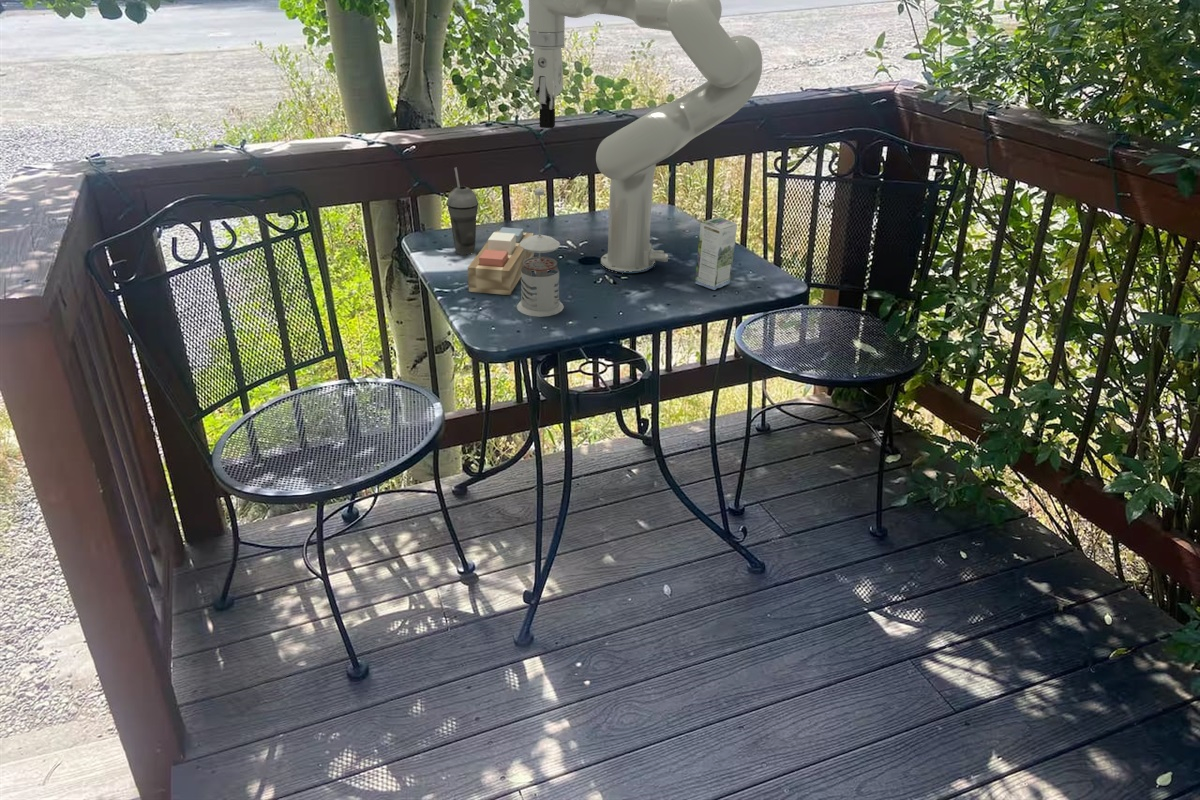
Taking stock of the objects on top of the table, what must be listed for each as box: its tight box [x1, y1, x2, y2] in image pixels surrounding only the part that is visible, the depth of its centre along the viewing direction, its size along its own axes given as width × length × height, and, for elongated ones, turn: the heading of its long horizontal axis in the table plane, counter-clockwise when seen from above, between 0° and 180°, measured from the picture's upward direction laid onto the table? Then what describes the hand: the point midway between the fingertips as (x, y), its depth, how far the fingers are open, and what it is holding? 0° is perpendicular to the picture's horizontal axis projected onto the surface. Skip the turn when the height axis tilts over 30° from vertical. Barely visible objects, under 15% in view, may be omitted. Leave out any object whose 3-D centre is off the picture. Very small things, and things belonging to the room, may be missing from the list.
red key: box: [479, 250, 508, 267], centre depth 191 cm, size 5×5×4 cm
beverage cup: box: [446, 167, 479, 256], centre depth 205 cm, size 7×7×20 cm
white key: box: [487, 231, 516, 255], centre depth 196 cm, size 5×5×4 cm
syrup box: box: [694, 216, 738, 287], centre depth 193 cm, size 6×6×14 cm
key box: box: [467, 229, 535, 296], centre depth 198 cm, size 9×24×6 cm, turn 171°
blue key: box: [498, 226, 524, 243], centre depth 204 cm, size 5×5×4 cm
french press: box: [516, 187, 565, 318], centre depth 179 cm, size 10×12×25 cm
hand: (547, 127), depth 198 cm, fingers closed
